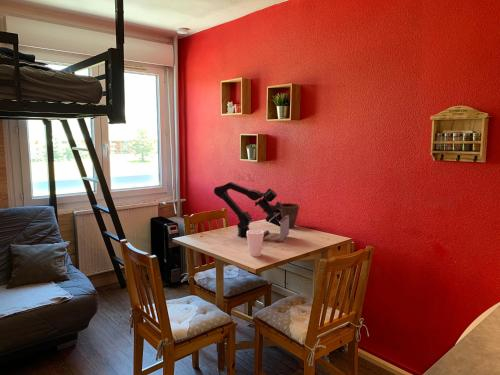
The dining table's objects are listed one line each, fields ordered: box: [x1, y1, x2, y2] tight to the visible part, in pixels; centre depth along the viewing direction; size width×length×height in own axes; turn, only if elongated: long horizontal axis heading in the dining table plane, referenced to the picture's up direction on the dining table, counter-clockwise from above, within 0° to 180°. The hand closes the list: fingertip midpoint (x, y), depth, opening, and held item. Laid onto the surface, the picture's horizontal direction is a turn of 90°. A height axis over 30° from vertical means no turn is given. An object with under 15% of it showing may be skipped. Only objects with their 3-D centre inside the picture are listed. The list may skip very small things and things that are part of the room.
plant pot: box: [280, 202, 300, 229], centre depth 271 cm, size 15×15×16 cm
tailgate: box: [279, 215, 290, 242], centre depth 237 cm, size 2×16×12 cm, turn 160°
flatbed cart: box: [263, 229, 282, 244], centre depth 240 cm, size 13×16×3 cm
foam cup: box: [246, 229, 265, 257], centre depth 207 cm, size 10×9×13 cm
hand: (282, 224), depth 237 cm, fingers open, 9 cm apart
